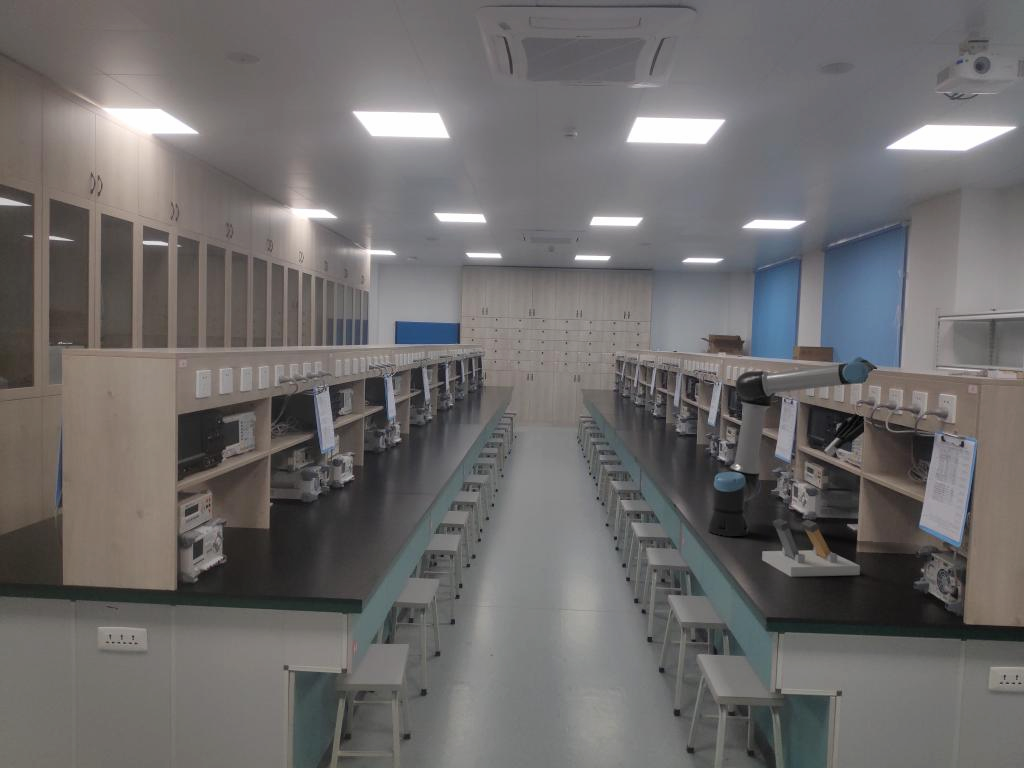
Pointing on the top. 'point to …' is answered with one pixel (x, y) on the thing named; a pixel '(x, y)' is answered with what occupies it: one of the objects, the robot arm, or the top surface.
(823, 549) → the orange lever
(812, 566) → the control panel
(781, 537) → the grey lever
